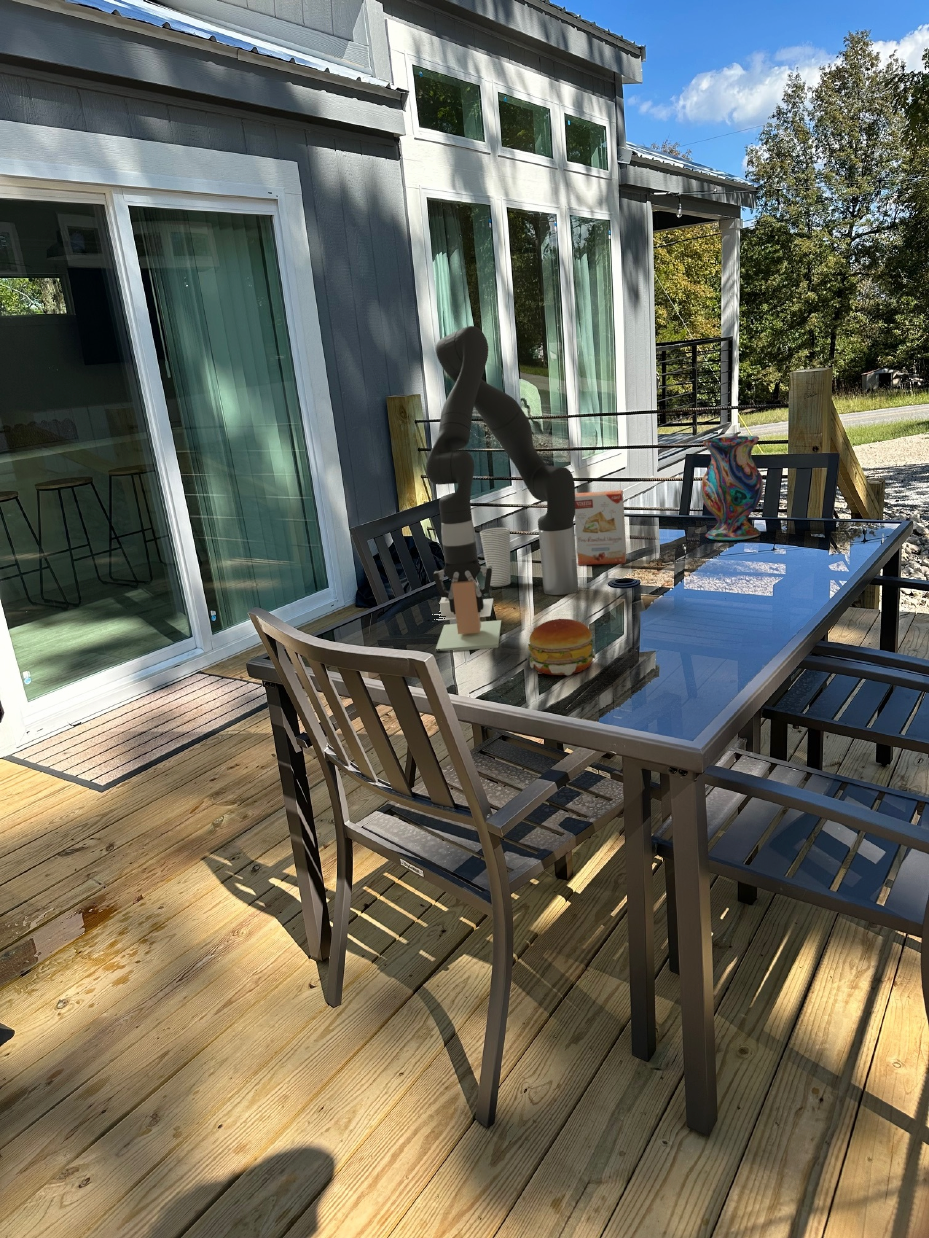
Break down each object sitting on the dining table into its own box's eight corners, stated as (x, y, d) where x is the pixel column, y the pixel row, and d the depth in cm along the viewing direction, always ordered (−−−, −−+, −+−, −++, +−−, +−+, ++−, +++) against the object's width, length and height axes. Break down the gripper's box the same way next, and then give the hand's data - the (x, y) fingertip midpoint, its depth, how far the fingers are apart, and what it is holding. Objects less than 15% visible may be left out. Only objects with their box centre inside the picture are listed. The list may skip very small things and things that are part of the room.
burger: (590, 653, 181) (587, 608, 178) (602, 675, 168) (599, 627, 165) (527, 661, 181) (522, 615, 178) (534, 683, 168) (529, 635, 165)
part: (480, 625, 202) (475, 576, 199) (479, 632, 197) (473, 582, 194) (459, 627, 203) (454, 578, 199) (458, 634, 198) (451, 583, 194)
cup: (512, 587, 240) (507, 532, 235) (482, 588, 241) (476, 534, 237) (516, 579, 247) (511, 526, 243) (488, 581, 249) (482, 528, 245)
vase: (690, 537, 274) (686, 442, 266) (735, 527, 281) (733, 434, 273) (730, 545, 258) (727, 444, 250) (776, 534, 265) (776, 435, 257)
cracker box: (577, 566, 254) (572, 496, 248) (580, 561, 260) (575, 492, 254) (625, 563, 251) (621, 492, 245) (627, 558, 256) (623, 489, 250)
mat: (501, 623, 208) (501, 620, 208) (498, 647, 191) (497, 644, 191) (444, 628, 210) (444, 624, 209) (436, 652, 192) (435, 649, 192)
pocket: (493, 600, 228) (492, 585, 227) (490, 618, 213) (488, 602, 212) (434, 605, 230) (432, 591, 229) (426, 623, 215) (424, 607, 214)
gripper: (491, 534, 197) (499, 605, 201) (429, 540, 198) (438, 610, 203) (489, 541, 189) (497, 614, 194) (425, 547, 191) (435, 620, 196)
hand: (467, 612), depth 199 cm, fingers closed on part, 5 cm apart
